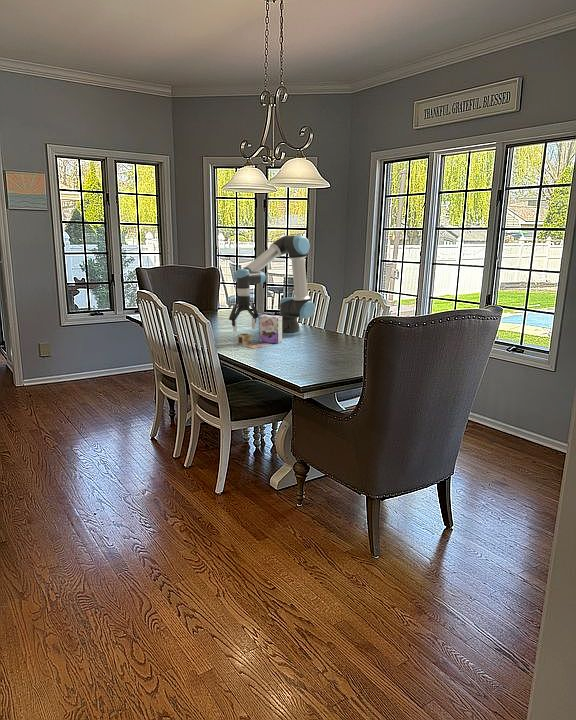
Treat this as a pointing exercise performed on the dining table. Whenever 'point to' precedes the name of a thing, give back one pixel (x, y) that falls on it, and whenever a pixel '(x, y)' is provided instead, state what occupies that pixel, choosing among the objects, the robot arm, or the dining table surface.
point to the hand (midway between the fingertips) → (244, 330)
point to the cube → (244, 339)
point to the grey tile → (264, 344)
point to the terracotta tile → (253, 346)
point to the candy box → (270, 329)
